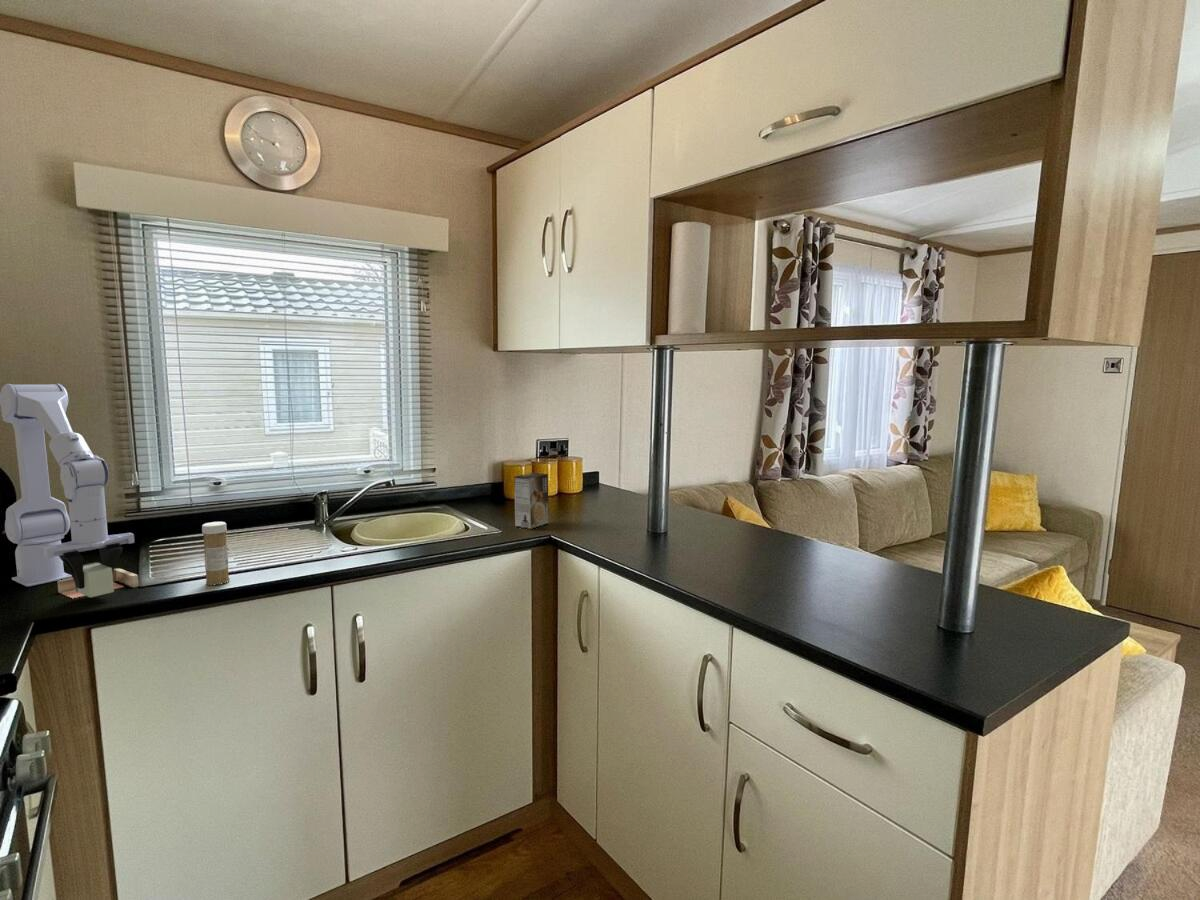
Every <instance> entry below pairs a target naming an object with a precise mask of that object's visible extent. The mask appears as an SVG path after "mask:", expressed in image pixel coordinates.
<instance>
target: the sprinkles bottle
mask: <svg viewBox="0 0 1200 900" xmlns="http://www.w3.org/2000/svg"><path fill="white" fill-rule="evenodd" d="M227 531H228V529H227V523H226V522H225V521H212V522H205V523H203V524H202V525H201V532H202V535H203V547H204V548H203V549H204V550H203V551H204V569H205V570H204V571H205V577H206V578H205V579H206V580H205V584H206V585H207V584H208V586H215V585H214V584H221V583H225V582H227V581H228V582H230V577H229V553H228V543H227V541H228V540H227ZM228 582H227V583H228ZM225 584H226V583H225ZM221 585H222V584H221Z"/></svg>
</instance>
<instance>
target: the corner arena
mask: <svg viewBox="0 0 1200 900" xmlns="http://www.w3.org/2000/svg"><path fill="white" fill-rule="evenodd" d="M118 581H119V583H121V584H119V583H116V582H118ZM56 583H57V592H58V593H59V594H61V595H63V596H65V597H67V598H69V597H70V598H69V599H71V598H72V600H75V599H79V597H80V598H84V597H87V596H86V595H83V594H81V593H79V592H77V591H76V589H75V581H74V579H73V577H71V578H66V579H62V580H57V582H56ZM123 583H124V584H123ZM122 584H123V585H122ZM139 584H140V583H139V575H138V574H136V573H133V572H130V571H127V570H125V569H123V568H119V567H117V568H114V571H113V587H114V590H118V589H121V588H125V586H124V585H126V586H128V587H131V588H136V587H137V588H138V587H140V585H139ZM74 598H75V599H74Z"/></svg>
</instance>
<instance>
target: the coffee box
mask: <svg viewBox="0 0 1200 900" xmlns="http://www.w3.org/2000/svg"><path fill="white" fill-rule="evenodd" d="M513 478H514V479H513V480H514V481H513V482H514V484H513V485H514V520H515V521H514V525H515V526H521V527H528V528H532V527H536V526H539V525H542V524H545V523H548V522H549V523H550V521H549V520H550V519H549V474H548V473H540V472H539V473H538V472H530V473H529V472H528V473H525V474H520V475H515V476H514V477H513ZM515 526H514V527H515Z"/></svg>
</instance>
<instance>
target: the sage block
mask: <svg viewBox="0 0 1200 900" xmlns="http://www.w3.org/2000/svg"><path fill="white" fill-rule="evenodd" d="M83 577H84V588H82V589H79V588H77V587H76V584H75V589H76V591H77V592H79V593H81V594H83V595H86V596H85V597H88V598H94V597H99V596H102V595H106V594H111V593H114V592H115V589H114V587H113V582H114V581H113V575H112V568H110V567H108V566H105V565H102V563H100V562H92V563H86V564H83Z"/></svg>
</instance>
